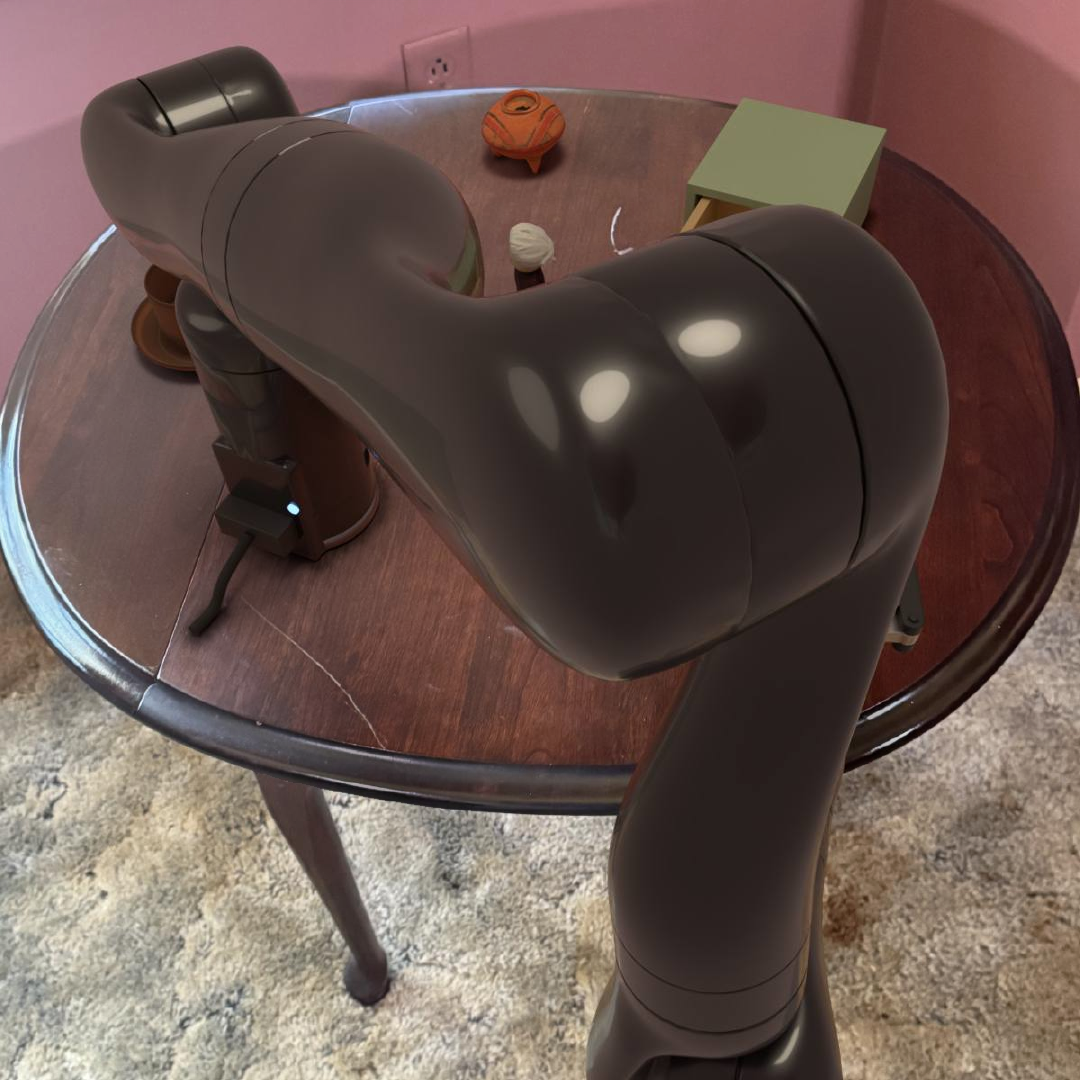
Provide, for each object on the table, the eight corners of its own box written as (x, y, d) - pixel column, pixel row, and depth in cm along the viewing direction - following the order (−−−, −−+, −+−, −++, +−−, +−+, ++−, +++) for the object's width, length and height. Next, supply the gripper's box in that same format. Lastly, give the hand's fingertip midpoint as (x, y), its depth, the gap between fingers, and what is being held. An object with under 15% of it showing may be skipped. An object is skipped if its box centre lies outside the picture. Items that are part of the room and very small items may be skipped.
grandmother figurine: (494, 335, 91) (483, 205, 81) (538, 323, 92) (532, 192, 82) (527, 397, 87) (520, 267, 77) (573, 384, 88) (571, 253, 78)
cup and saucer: (109, 338, 93) (83, 280, 88) (224, 268, 98) (205, 209, 93) (196, 406, 88) (173, 348, 83) (312, 328, 93) (297, 268, 88)
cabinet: (821, 307, 92) (840, 221, 85) (679, 269, 96) (686, 183, 89) (866, 215, 100) (887, 128, 93) (732, 182, 103) (743, 96, 96)
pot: (585, 162, 105) (570, 104, 100) (512, 199, 105) (493, 143, 99) (552, 117, 110) (536, 59, 104) (482, 153, 110) (461, 96, 104)
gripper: (937, 718, 52) (956, 455, 61) (635, 651, 54) (699, 408, 64) (900, 788, 58) (922, 538, 67) (628, 724, 60) (688, 492, 70)
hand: (813, 476), depth 66 cm, fingers closed on supplement bottle, 5 cm apart
